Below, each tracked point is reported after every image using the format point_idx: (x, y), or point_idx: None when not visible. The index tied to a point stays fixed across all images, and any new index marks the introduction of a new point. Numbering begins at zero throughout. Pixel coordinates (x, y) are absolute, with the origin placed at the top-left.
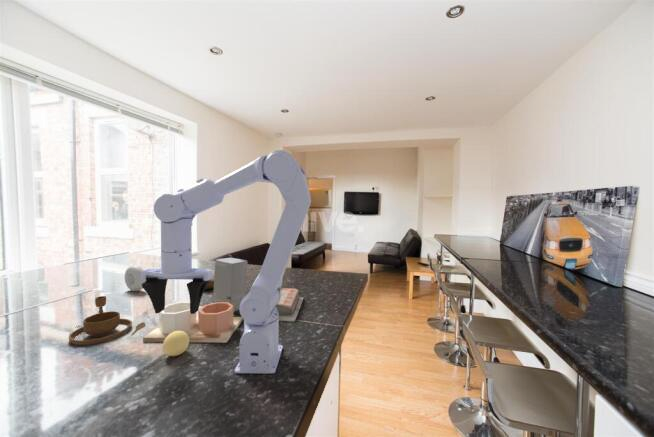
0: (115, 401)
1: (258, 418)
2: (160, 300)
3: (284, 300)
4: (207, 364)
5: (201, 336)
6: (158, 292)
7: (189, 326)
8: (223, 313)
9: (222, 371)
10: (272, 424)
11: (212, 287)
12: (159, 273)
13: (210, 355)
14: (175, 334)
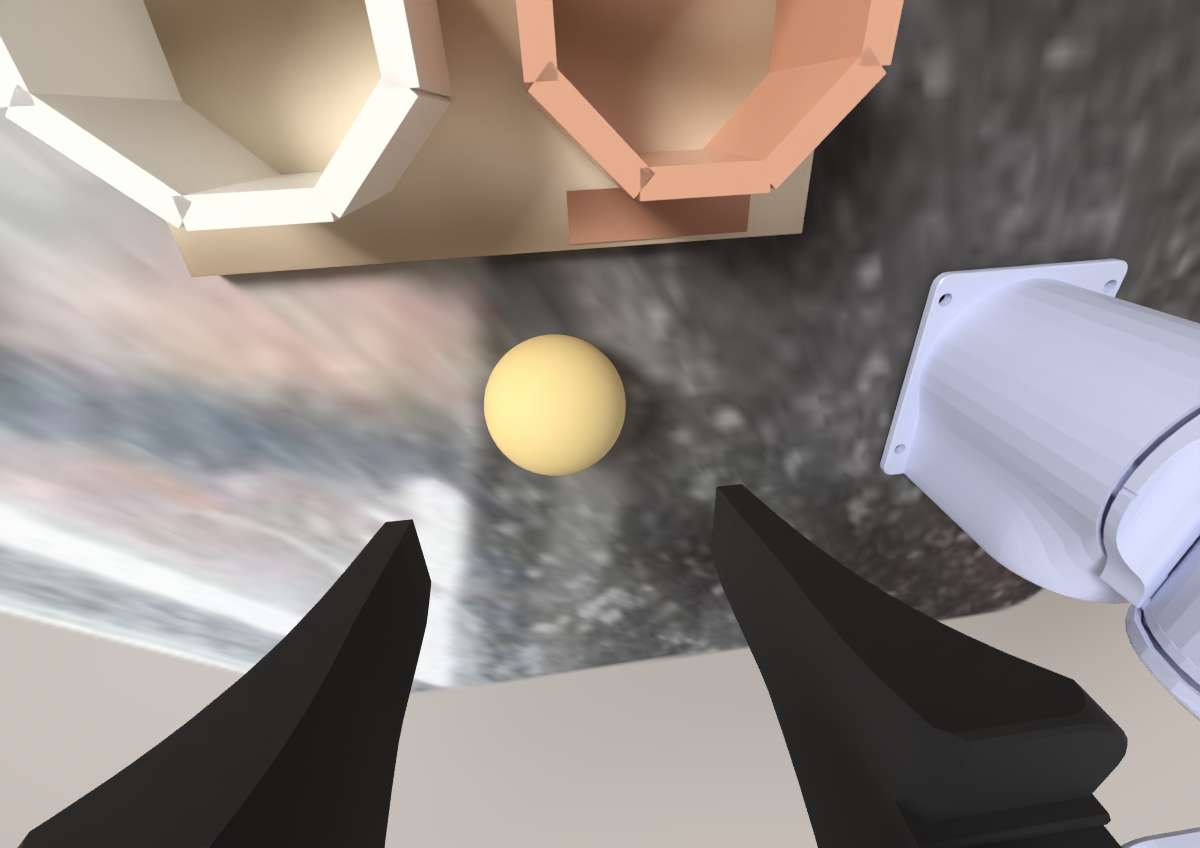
0: (536, 610)
1: (955, 594)
2: (395, 647)
3: None
4: (749, 428)
5: (622, 228)
6: (372, 770)
7: (446, 104)
8: (830, 126)
9: (826, 459)
10: (987, 601)
11: None
12: None
13: (737, 364)
14: (568, 459)
